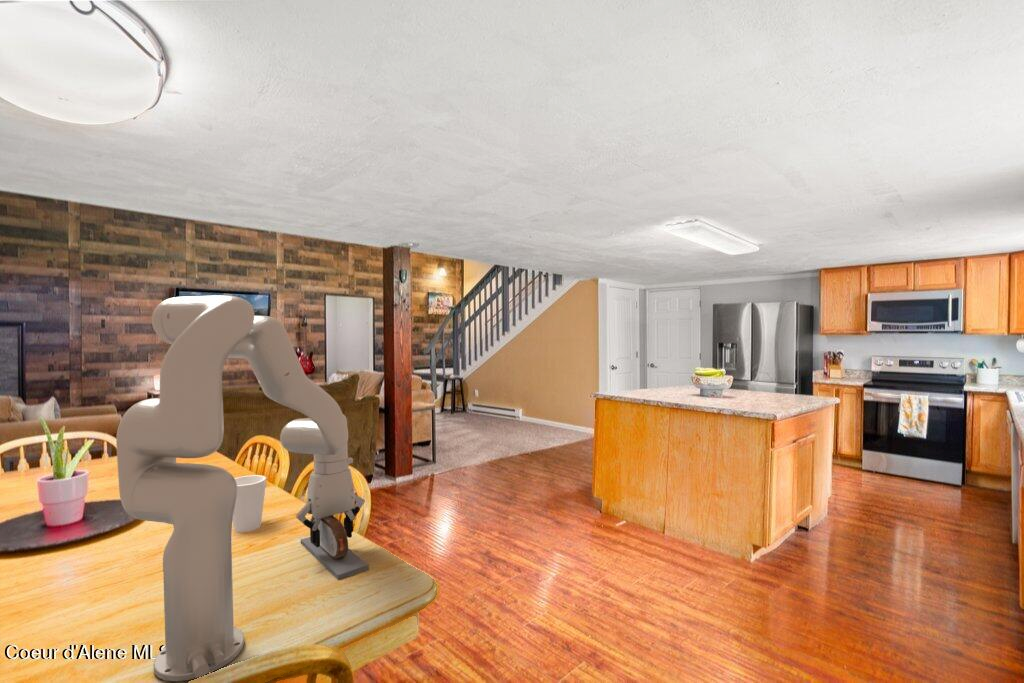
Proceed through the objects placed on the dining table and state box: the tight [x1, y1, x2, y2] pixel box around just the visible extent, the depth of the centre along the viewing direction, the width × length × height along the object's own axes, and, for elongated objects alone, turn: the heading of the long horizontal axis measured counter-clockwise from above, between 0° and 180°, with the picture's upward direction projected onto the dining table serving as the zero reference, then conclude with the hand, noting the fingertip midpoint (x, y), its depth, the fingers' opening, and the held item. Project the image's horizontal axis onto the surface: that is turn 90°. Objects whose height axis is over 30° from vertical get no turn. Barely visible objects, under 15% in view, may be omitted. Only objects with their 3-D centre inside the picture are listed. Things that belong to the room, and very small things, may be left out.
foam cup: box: [232, 474, 267, 533], centre depth 133 cm, size 10×9×13 cm
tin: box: [318, 515, 349, 559], centre depth 116 cm, size 15×3×8 cm, turn 41°
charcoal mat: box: [300, 536, 370, 580], centre depth 117 cm, size 24×7×1 cm, turn 41°
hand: (332, 539), depth 117 cm, fingers open, 7 cm apart
